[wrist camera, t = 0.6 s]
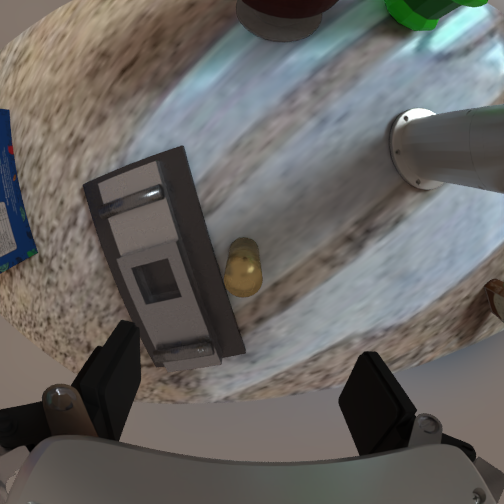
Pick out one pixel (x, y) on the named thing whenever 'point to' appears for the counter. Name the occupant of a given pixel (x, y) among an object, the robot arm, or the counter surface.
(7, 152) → the pasta box
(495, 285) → the food container
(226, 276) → the brass pin
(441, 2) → the plastic bottle
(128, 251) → the gray slotted panel
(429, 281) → the counter surface
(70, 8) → the counter surface
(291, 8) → the mate gourd
